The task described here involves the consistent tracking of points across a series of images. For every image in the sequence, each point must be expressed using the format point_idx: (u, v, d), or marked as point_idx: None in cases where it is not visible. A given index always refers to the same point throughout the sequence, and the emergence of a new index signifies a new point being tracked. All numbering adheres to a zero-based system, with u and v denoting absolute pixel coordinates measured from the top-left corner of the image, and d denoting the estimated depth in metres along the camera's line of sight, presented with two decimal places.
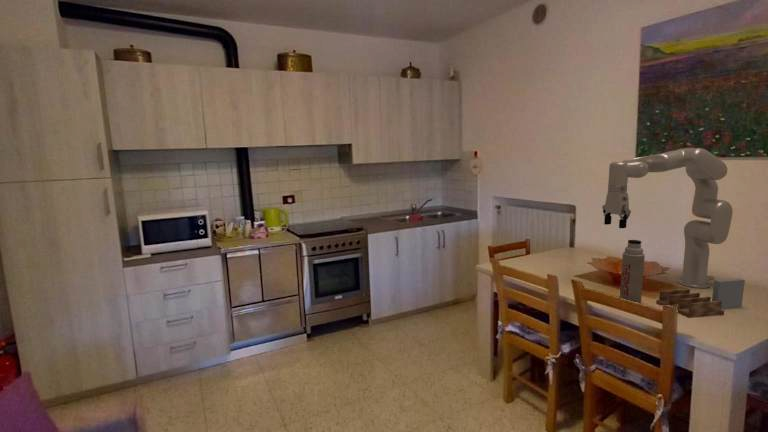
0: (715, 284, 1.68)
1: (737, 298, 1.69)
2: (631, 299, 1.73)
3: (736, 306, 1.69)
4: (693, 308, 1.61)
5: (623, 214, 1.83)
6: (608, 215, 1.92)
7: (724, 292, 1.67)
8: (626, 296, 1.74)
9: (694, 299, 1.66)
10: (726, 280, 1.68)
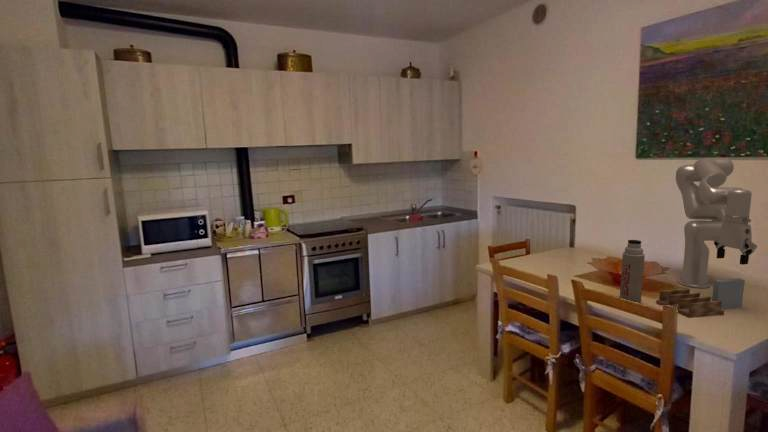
0: (715, 284, 1.68)
1: (737, 298, 1.69)
2: (631, 299, 1.73)
3: (736, 306, 1.69)
4: (693, 308, 1.61)
5: (744, 248, 1.62)
6: (721, 248, 1.71)
7: (724, 292, 1.67)
8: (626, 296, 1.74)
9: (694, 299, 1.66)
10: (726, 280, 1.68)
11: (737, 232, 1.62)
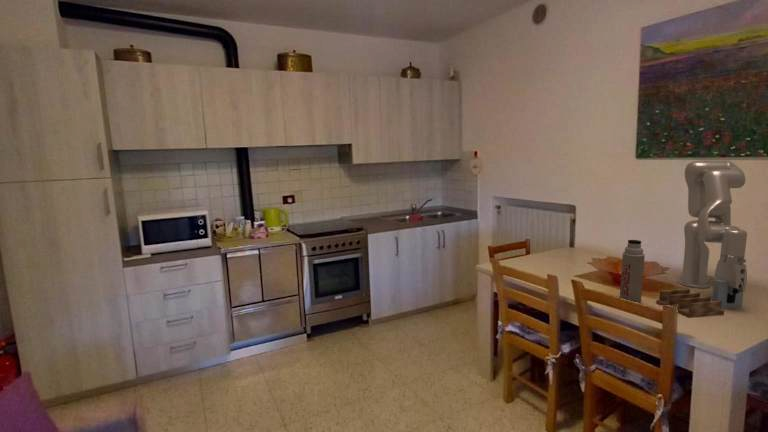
0: (715, 284, 1.68)
1: (737, 298, 1.69)
2: (631, 299, 1.73)
3: (736, 306, 1.69)
4: (693, 308, 1.61)
5: None
6: None
7: (724, 292, 1.67)
8: (626, 296, 1.74)
9: (694, 299, 1.66)
10: None
11: (733, 271, 1.64)
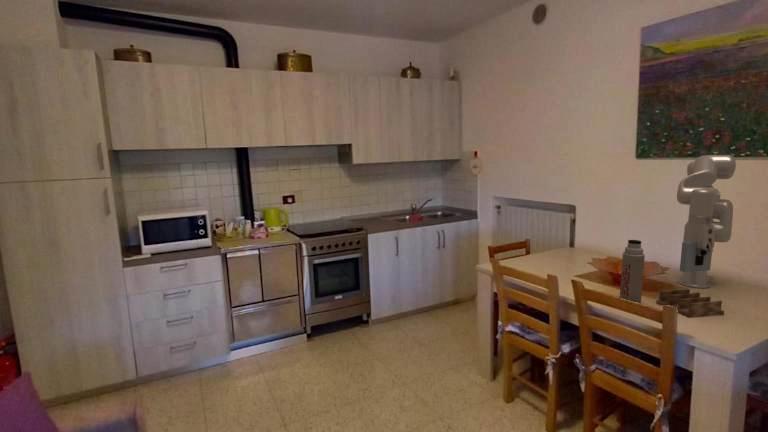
0: (683, 246, 1.65)
1: (706, 260, 1.66)
2: (631, 299, 1.73)
3: (705, 269, 1.66)
4: (693, 308, 1.61)
5: (703, 249, 1.64)
6: None
7: (692, 254, 1.64)
8: (626, 296, 1.74)
9: (694, 299, 1.66)
10: None
11: (700, 232, 1.61)
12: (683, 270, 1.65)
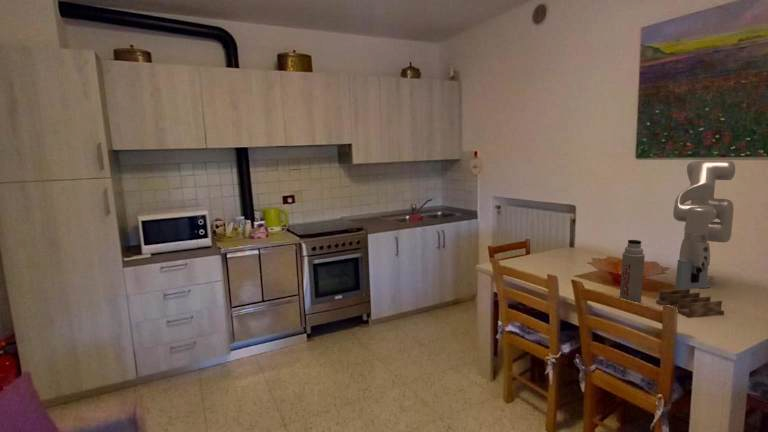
0: (679, 263, 1.66)
1: (701, 278, 1.67)
2: (631, 299, 1.73)
3: (700, 286, 1.67)
4: (693, 308, 1.61)
5: (698, 267, 1.65)
6: None
7: (688, 272, 1.65)
8: (626, 296, 1.74)
9: (694, 299, 1.66)
10: None
11: (696, 250, 1.62)
12: (679, 287, 1.67)
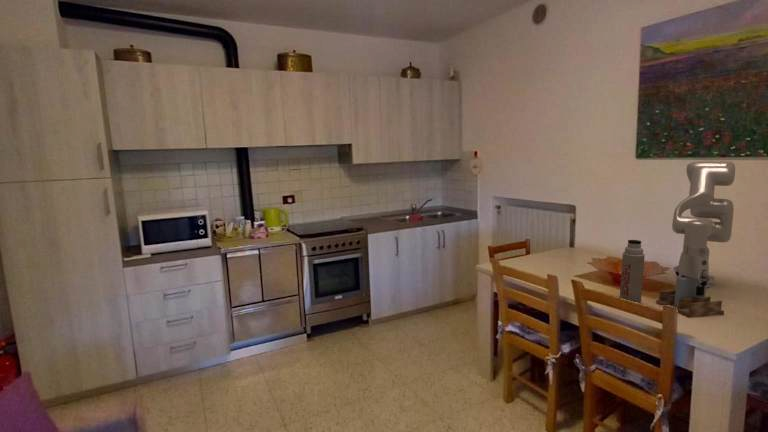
0: (678, 282, 1.67)
1: None
2: (631, 299, 1.73)
3: None
4: (693, 308, 1.61)
5: (701, 280, 1.64)
6: None
7: (686, 290, 1.67)
8: (626, 296, 1.74)
9: (694, 299, 1.66)
10: (689, 278, 1.67)
11: (694, 263, 1.63)
12: (677, 305, 1.68)
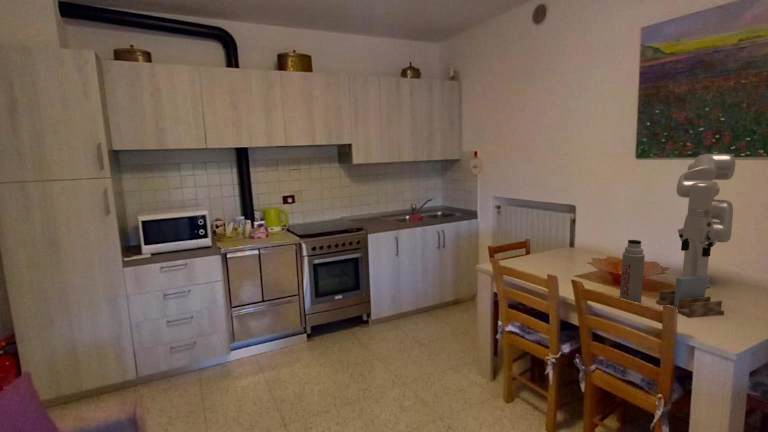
0: (677, 282, 1.67)
1: (700, 295, 1.68)
2: (631, 299, 1.73)
3: None
4: (693, 308, 1.61)
5: (707, 241, 1.64)
6: (686, 240, 1.73)
7: (686, 290, 1.67)
8: (626, 296, 1.74)
9: (694, 299, 1.66)
10: (688, 277, 1.67)
11: (699, 225, 1.64)
12: (677, 305, 1.68)
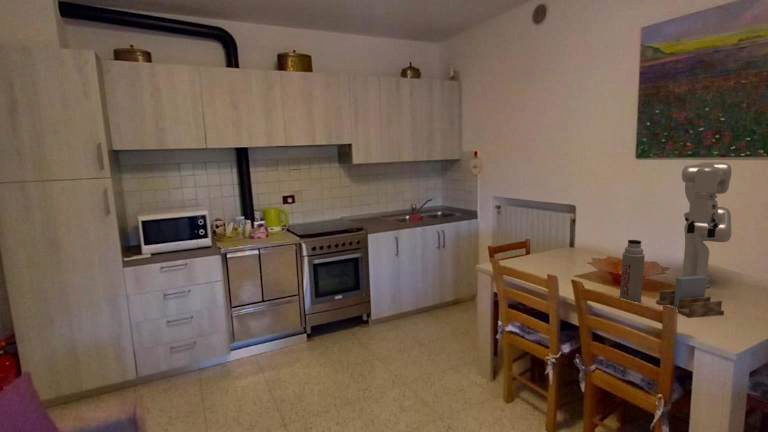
0: (677, 282, 1.67)
1: (700, 295, 1.68)
2: (631, 299, 1.73)
3: None
4: (693, 308, 1.61)
5: (712, 223, 1.73)
6: (691, 223, 1.82)
7: (686, 290, 1.67)
8: (626, 296, 1.74)
9: (694, 299, 1.66)
10: (688, 277, 1.67)
11: (705, 207, 1.73)
12: (677, 305, 1.68)
